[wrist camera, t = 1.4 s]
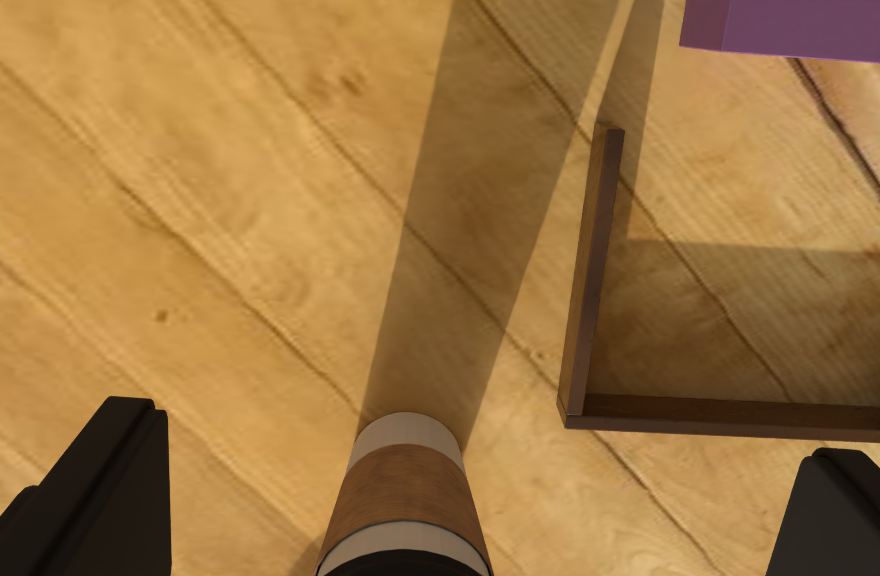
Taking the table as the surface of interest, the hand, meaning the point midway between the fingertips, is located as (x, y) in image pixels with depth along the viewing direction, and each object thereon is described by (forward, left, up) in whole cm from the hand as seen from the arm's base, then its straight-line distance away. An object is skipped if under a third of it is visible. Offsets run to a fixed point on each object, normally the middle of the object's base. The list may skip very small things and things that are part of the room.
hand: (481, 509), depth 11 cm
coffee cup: (+16, -1, -26) cm, 30 cm away
